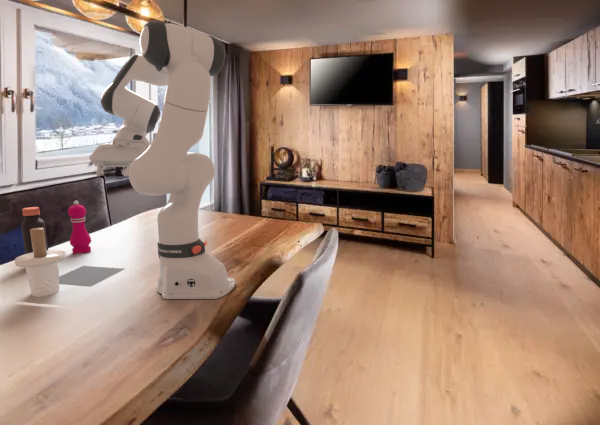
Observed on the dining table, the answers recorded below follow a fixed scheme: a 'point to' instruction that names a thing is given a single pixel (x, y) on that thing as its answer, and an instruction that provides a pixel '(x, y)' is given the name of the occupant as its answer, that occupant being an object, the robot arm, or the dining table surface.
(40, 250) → the lid
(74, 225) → the pepper mill
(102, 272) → the slate mat
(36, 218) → the bottle
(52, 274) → the white cup
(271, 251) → the dining table surface
